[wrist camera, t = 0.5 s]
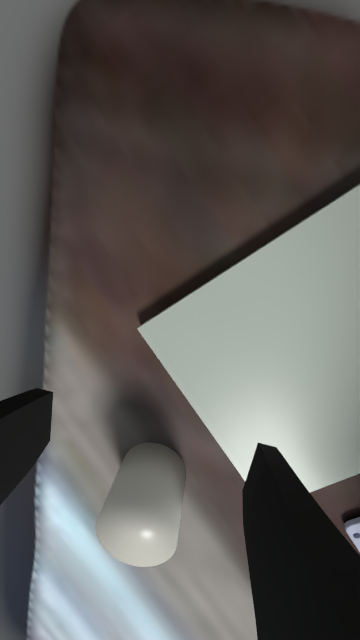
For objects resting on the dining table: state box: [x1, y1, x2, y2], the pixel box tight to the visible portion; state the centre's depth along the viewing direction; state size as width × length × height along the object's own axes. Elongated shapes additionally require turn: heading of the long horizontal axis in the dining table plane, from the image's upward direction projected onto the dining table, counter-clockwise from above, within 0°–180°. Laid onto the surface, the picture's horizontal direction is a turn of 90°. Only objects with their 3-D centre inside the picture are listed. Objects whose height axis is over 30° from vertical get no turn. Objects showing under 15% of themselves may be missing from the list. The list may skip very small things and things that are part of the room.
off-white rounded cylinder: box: [96, 443, 186, 567], centre depth 19 cm, size 5×5×5 cm
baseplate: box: [137, 184, 360, 493], centre depth 17 cm, size 16×16×1 cm
